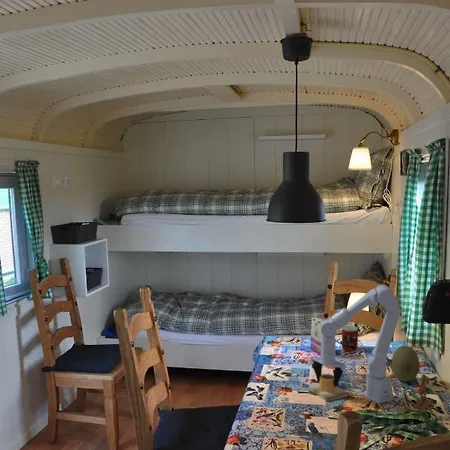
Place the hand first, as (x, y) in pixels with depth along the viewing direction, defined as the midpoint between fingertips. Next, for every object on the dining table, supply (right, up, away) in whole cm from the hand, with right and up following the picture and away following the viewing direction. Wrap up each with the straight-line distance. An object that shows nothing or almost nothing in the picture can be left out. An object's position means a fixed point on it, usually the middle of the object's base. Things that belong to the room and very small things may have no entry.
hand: (327, 383), depth 193 cm
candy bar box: (+6, 0, +45) cm, 46 cm away
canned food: (+22, +1, +50) cm, 54 cm away
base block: (0, -4, 0) cm, 4 cm away
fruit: (+35, -3, +12) cm, 37 cm away
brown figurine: (+34, -5, -11) cm, 36 cm away
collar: (0, -3, 0) cm, 2 cm away
